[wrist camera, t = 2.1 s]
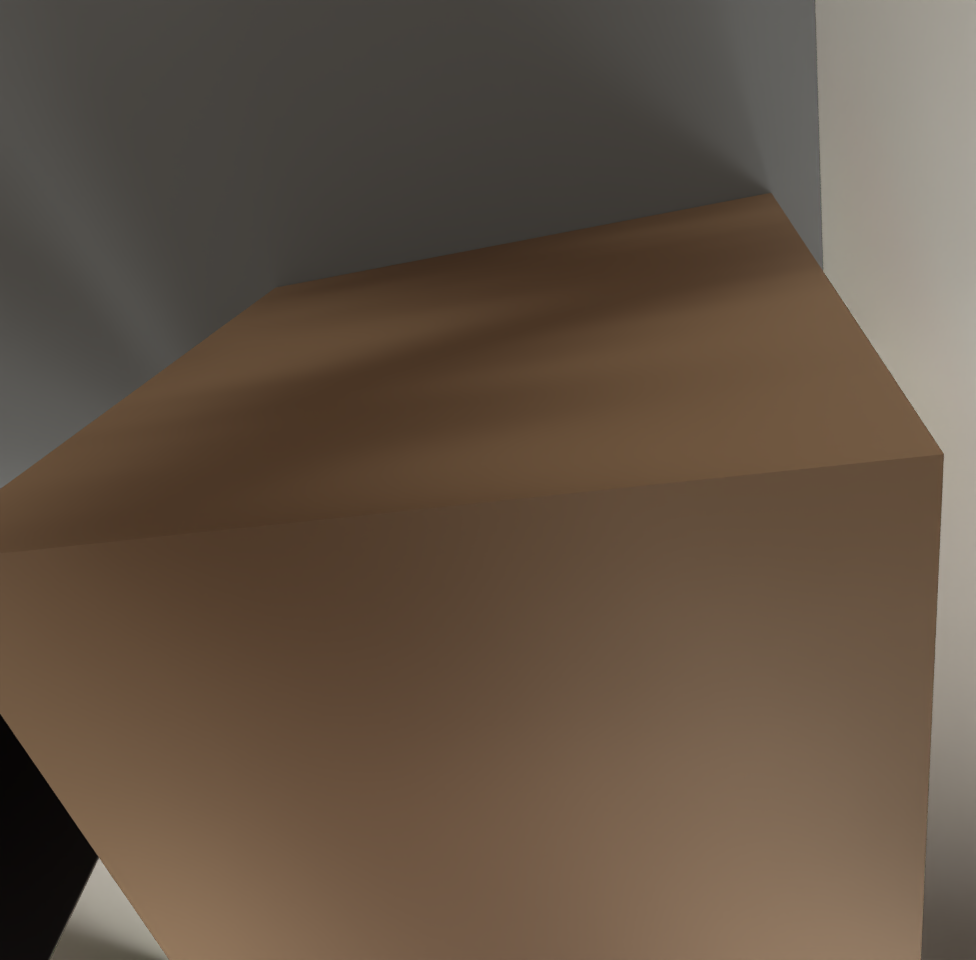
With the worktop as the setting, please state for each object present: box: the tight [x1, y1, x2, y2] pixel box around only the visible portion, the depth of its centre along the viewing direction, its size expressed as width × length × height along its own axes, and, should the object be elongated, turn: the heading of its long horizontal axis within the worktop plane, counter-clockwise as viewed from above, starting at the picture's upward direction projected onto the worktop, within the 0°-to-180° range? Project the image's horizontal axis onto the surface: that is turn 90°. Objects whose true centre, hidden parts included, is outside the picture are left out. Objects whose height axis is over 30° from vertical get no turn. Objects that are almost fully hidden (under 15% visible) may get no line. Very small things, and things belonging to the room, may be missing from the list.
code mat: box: [0, 0, 823, 489], centre depth 13 cm, size 22×16×1 cm
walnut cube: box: [0, 193, 944, 960], centre depth 8 cm, size 6×6×6 cm
